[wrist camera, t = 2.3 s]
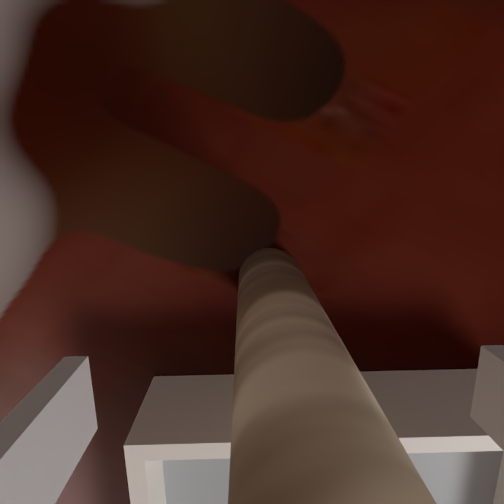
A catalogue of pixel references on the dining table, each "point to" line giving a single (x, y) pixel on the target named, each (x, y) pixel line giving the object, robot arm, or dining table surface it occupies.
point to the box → (385, 392)
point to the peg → (305, 403)
